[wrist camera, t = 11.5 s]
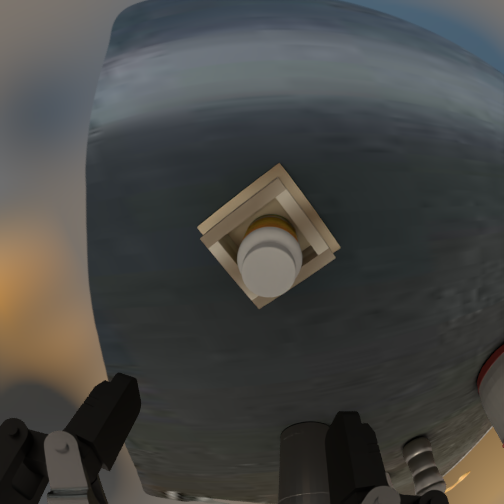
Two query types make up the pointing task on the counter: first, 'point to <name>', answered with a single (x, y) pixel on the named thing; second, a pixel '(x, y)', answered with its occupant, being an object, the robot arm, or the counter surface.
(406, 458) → the plastic bottle
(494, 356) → the citrus juicer
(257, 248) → the supplement bottle
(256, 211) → the open square wooden box
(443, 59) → the counter surface
